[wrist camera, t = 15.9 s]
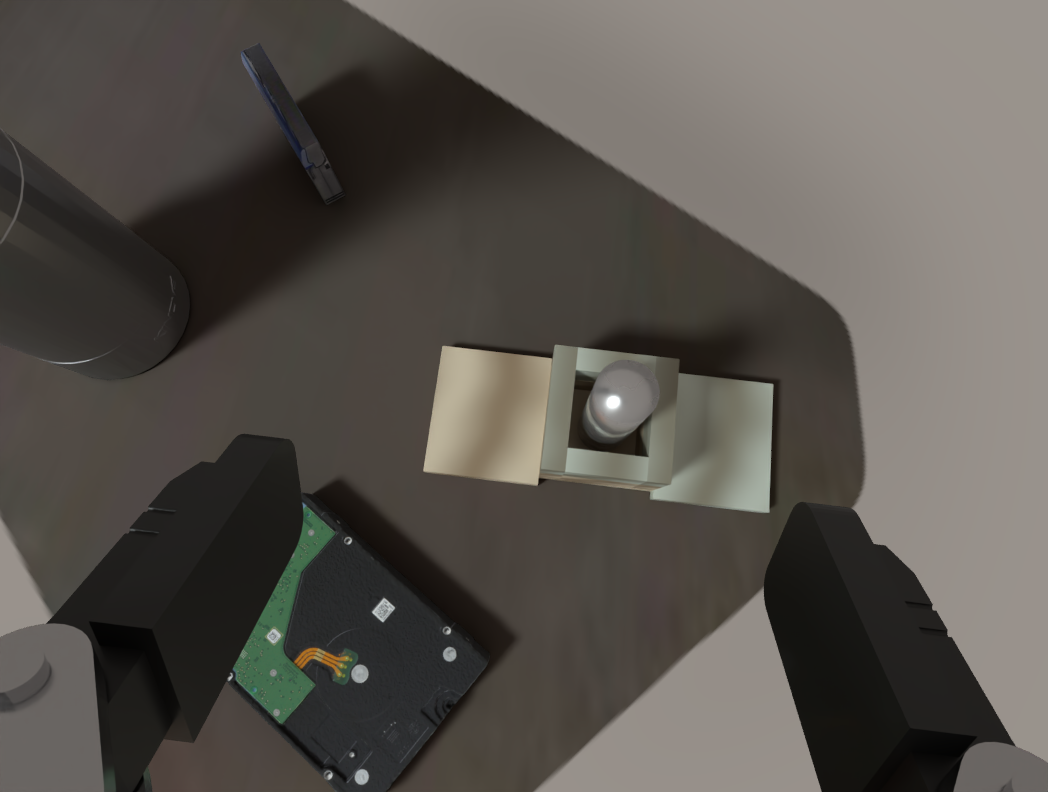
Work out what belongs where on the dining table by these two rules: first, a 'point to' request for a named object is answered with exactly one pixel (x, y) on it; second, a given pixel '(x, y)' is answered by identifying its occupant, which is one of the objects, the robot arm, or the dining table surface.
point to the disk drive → (352, 658)
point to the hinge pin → (617, 404)
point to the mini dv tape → (292, 123)
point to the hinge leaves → (559, 454)
